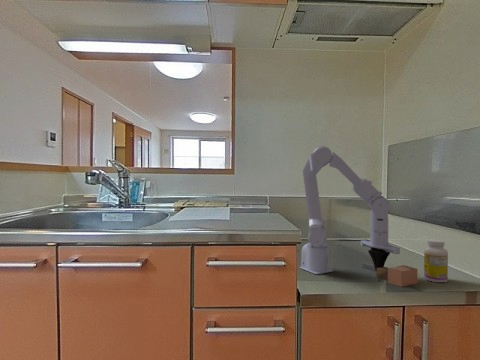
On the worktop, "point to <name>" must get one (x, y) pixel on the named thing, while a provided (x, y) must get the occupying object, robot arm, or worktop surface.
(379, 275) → the brown rectangular block
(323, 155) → the robot arm
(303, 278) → the worktop surface
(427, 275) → the supplement bottle
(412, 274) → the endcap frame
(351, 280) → the worktop surface
